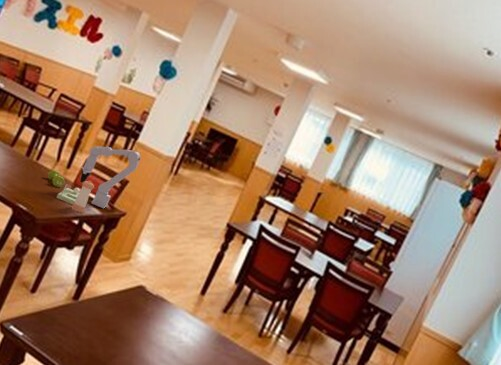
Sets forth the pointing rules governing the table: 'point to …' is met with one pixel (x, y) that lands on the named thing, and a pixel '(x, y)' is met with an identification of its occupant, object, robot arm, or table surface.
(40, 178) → the table surface
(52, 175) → the dumbbell
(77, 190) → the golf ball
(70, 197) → the pale green box
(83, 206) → the pepper shaker
